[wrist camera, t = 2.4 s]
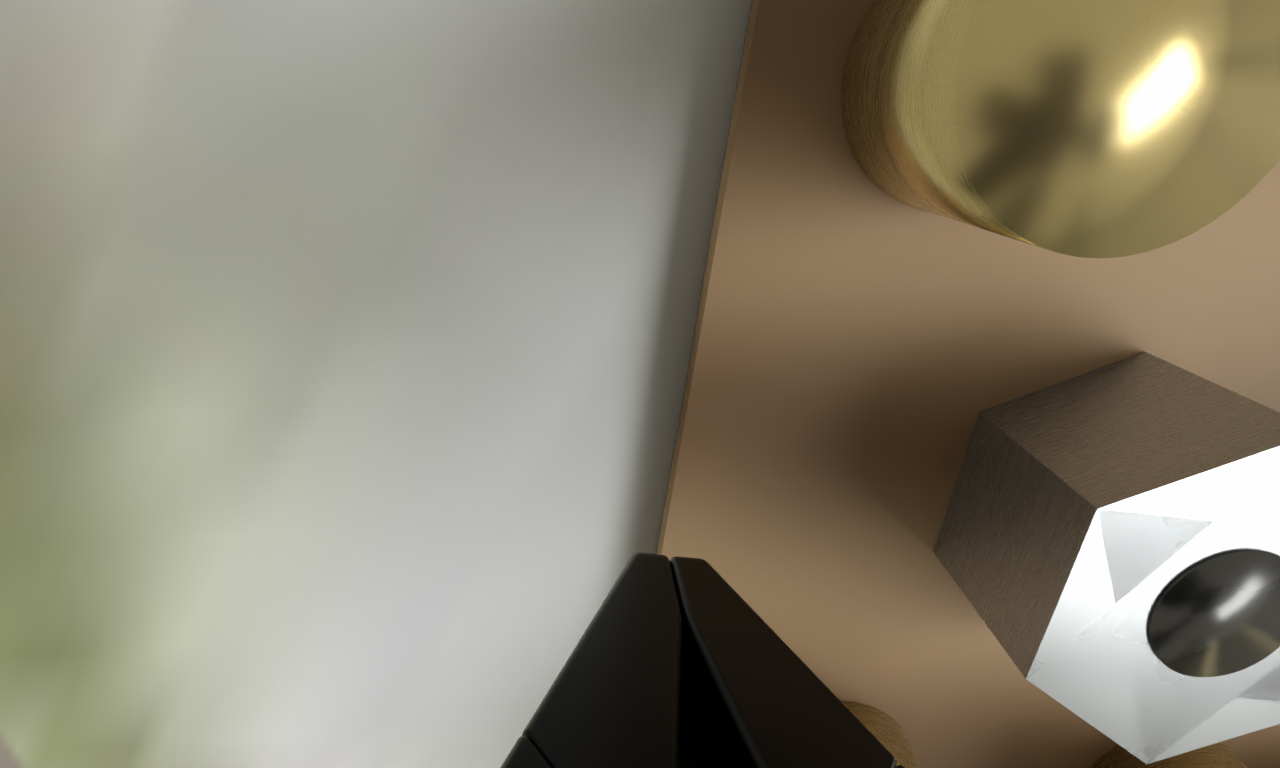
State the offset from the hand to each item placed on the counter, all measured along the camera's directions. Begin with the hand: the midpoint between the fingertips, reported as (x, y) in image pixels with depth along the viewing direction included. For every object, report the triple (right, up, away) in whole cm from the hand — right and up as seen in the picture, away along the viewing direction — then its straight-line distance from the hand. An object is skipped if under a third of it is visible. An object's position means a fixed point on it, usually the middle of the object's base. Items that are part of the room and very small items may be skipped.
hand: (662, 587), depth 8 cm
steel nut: (+7, 0, +4) cm, 8 cm away
